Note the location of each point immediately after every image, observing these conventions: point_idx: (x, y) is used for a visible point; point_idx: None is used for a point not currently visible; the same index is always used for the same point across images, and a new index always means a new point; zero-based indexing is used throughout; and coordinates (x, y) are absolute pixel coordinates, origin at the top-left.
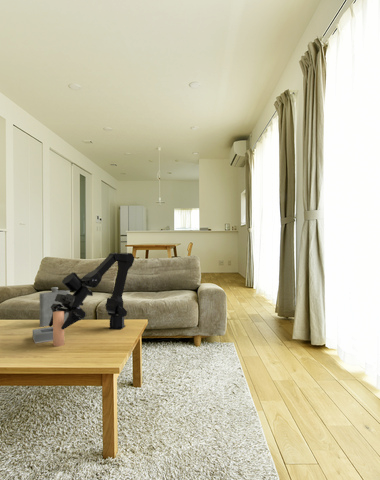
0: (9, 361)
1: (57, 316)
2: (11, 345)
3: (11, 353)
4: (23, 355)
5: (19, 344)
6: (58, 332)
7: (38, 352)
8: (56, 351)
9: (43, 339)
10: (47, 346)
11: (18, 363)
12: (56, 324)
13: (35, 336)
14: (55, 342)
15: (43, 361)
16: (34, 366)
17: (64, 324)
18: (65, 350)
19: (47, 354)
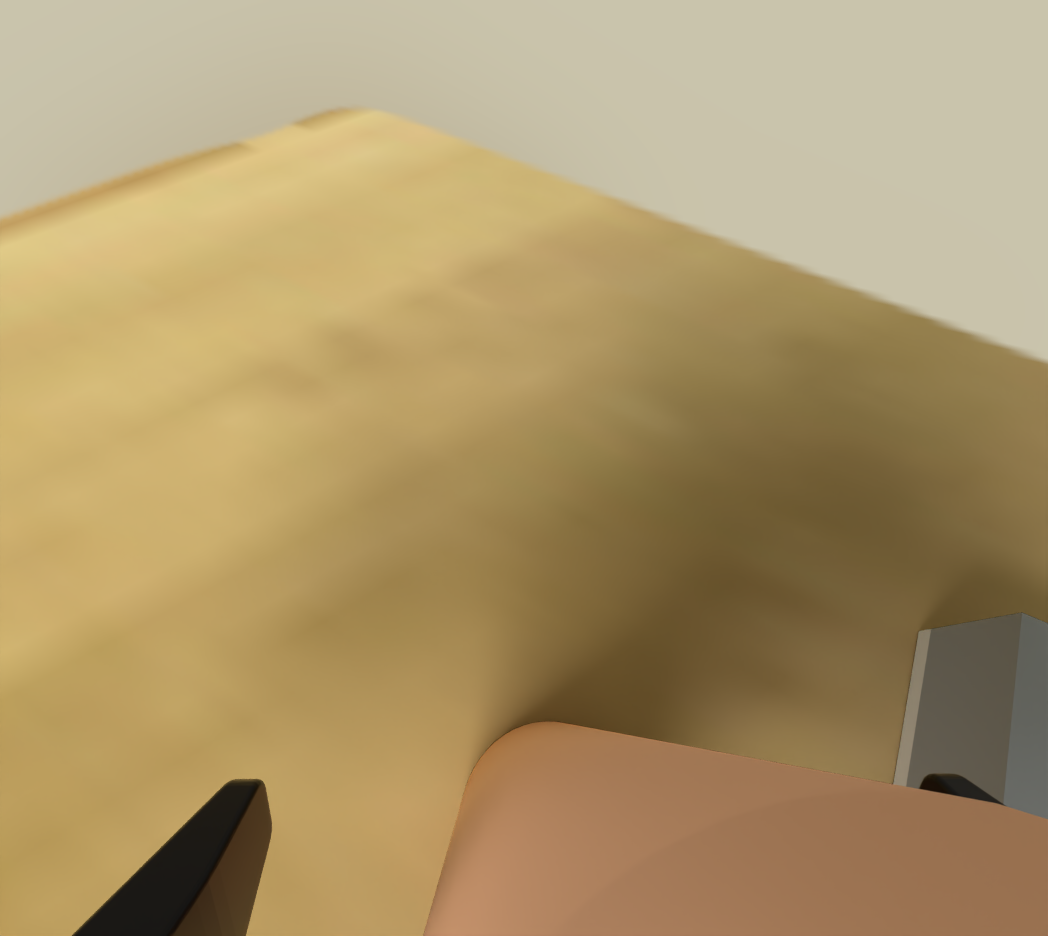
0: (464, 173)
1: (484, 890)
2: (1032, 417)
3: (699, 282)
4: (519, 307)
5: (1013, 488)
6: (470, 792)
7: (468, 439)
8: (280, 585)
9: (927, 754)
10: (614, 650)
11: (331, 182)
12: (517, 778)
13: (1000, 624)
14: (518, 731)
15: (130, 309)
16: (104, 205)
17: (105, 909)
18: (184, 689)
19: (291, 454)
